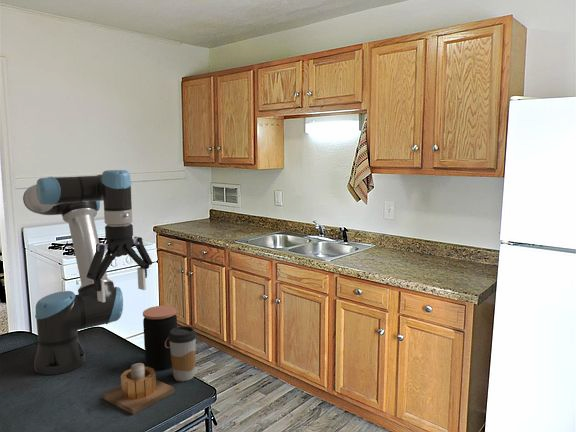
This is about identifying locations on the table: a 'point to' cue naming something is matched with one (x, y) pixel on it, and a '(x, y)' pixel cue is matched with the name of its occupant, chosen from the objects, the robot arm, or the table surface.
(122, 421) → the table surface
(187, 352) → the coffee cup
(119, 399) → the post block
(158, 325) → the coffee jar
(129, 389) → the orange ring
